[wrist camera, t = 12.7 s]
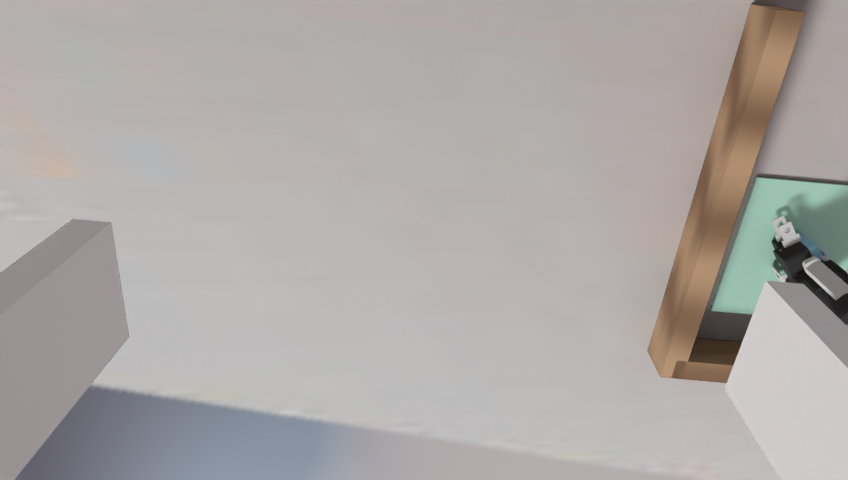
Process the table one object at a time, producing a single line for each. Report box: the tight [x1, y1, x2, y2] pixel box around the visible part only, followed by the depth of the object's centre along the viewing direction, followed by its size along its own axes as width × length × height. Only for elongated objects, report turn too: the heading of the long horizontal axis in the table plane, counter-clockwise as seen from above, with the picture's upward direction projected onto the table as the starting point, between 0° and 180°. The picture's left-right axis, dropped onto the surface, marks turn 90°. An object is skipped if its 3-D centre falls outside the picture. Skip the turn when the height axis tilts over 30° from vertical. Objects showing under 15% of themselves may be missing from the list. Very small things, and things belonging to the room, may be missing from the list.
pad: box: [711, 177, 848, 315], centre depth 41 cm, size 10×8×1 cm
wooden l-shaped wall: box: [648, 4, 806, 383], centre depth 38 cm, size 24×11×3 cm, turn 175°
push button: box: [771, 216, 848, 326], centre depth 36 cm, size 7×5×10 cm
